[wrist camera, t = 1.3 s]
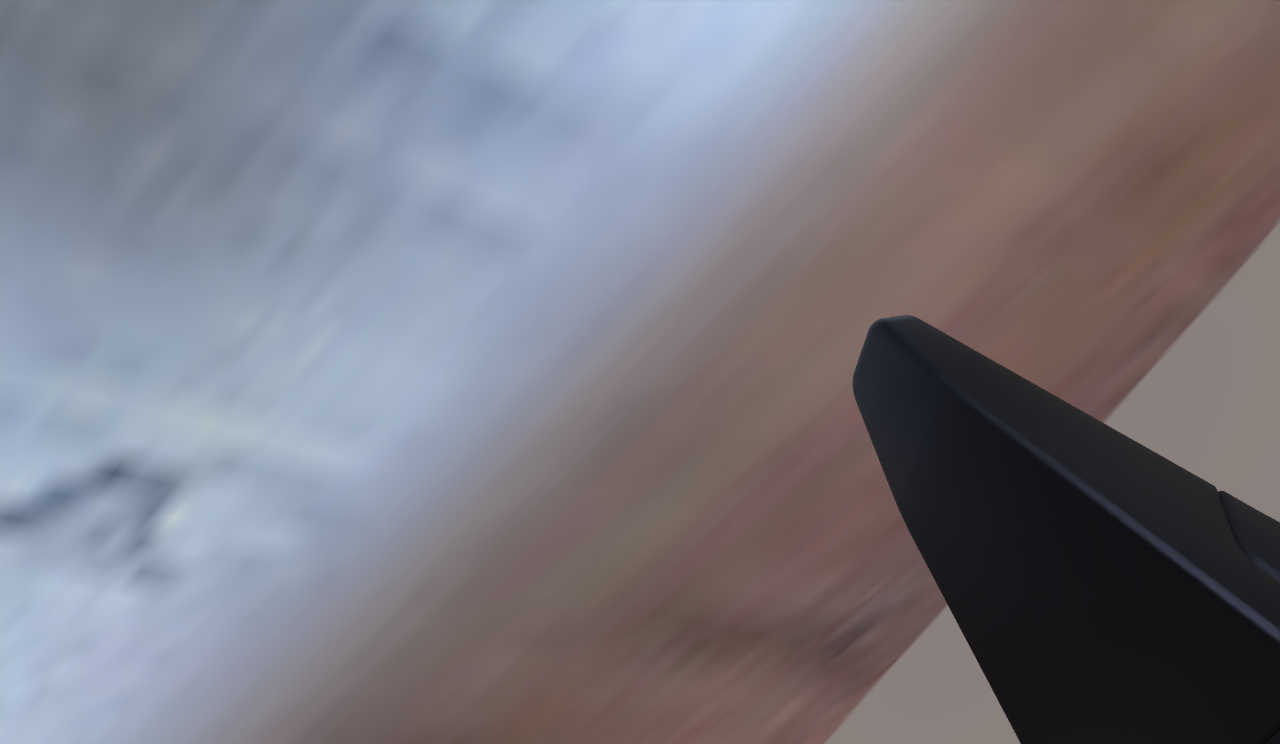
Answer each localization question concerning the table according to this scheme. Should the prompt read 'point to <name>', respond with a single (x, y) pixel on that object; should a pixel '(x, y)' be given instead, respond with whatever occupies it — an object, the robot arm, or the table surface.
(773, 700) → the table surface
